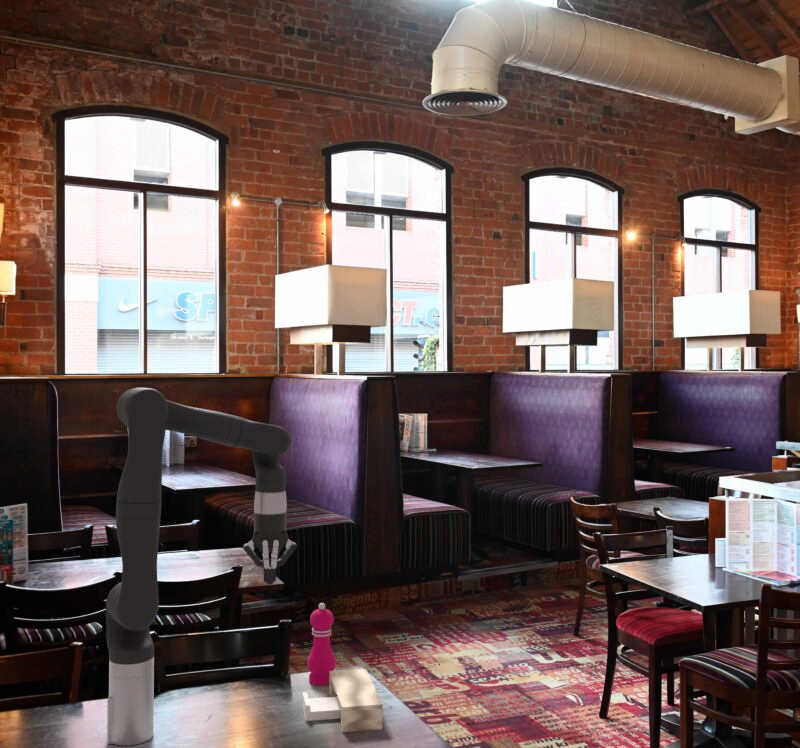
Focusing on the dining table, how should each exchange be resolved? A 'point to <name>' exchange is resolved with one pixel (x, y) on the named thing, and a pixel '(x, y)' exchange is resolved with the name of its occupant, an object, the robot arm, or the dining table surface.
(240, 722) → the dining table surface
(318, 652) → the pepper mill
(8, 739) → the dining table surface
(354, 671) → the overhang shelf
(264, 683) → the dining table surface
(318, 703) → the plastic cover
